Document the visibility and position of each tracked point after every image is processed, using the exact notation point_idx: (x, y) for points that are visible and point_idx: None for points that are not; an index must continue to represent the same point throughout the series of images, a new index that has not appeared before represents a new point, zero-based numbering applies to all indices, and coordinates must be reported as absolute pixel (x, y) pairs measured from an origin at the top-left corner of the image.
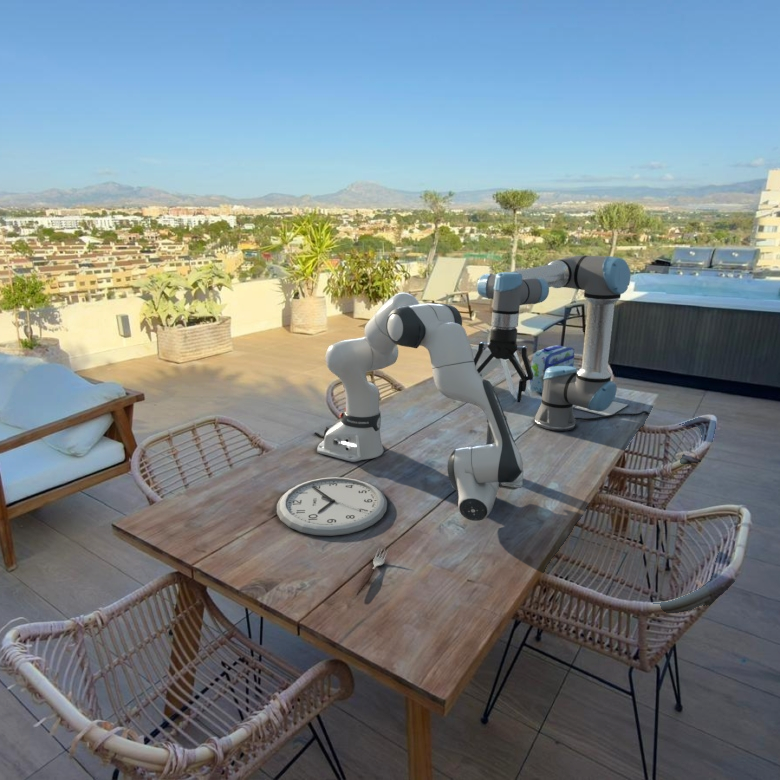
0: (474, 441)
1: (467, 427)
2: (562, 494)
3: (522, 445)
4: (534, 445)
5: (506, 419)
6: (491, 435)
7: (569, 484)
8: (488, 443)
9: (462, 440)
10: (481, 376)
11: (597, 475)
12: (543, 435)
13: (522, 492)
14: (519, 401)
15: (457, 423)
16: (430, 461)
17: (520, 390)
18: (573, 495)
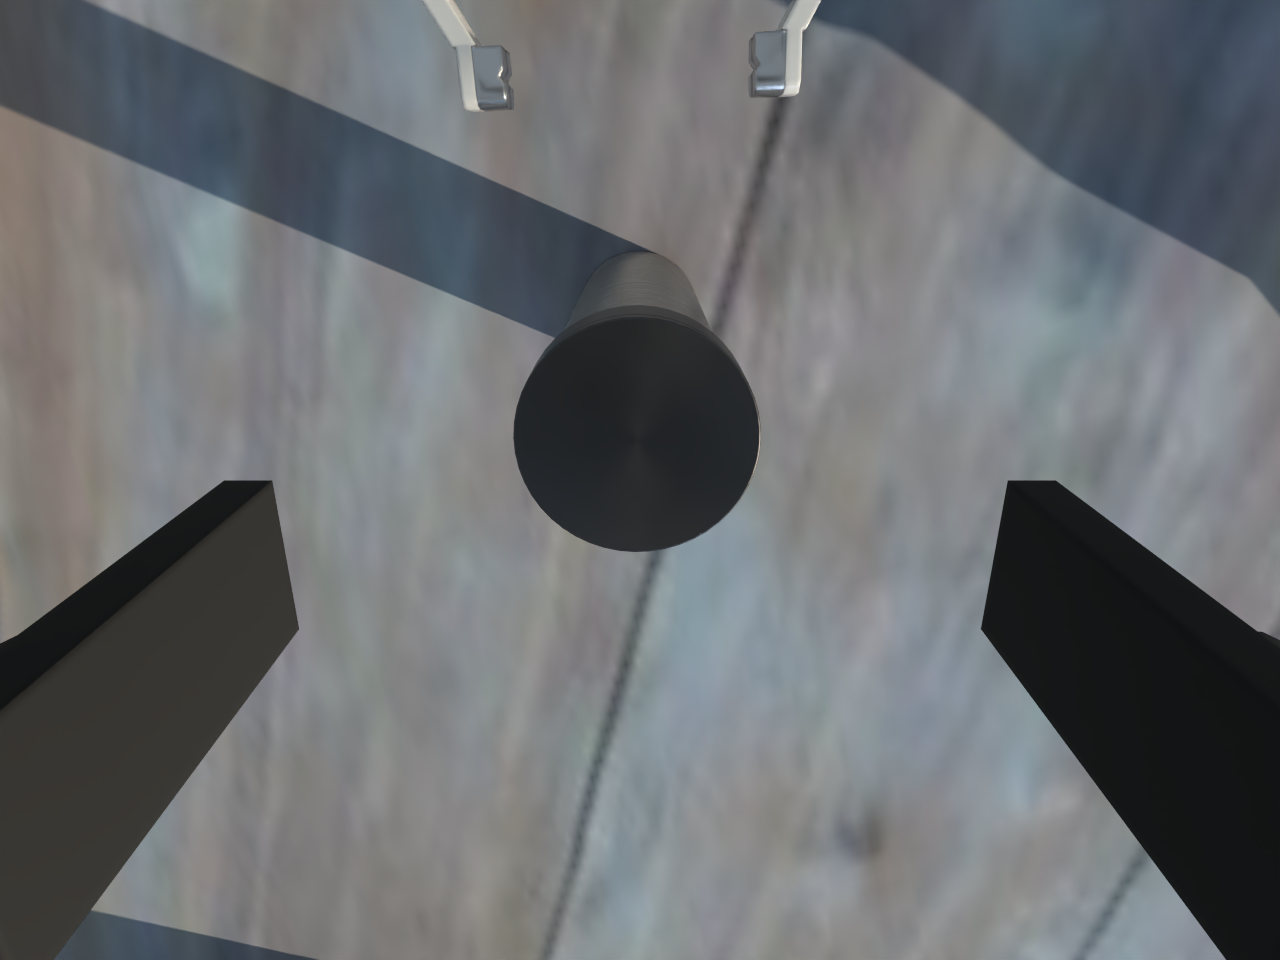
0: (830, 709)
1: (902, 881)
2: (116, 134)
3: (530, 756)
4: (461, 780)
5: (517, 442)
6: (667, 298)
7: (120, 313)
8: (689, 299)
9: (909, 696)
10: (1227, 933)
11: (8, 513)
12: (442, 921)
13: (371, 44)
14: (221, 490)
15: (971, 913)
16: (1094, 292)
17: (76, 604)
18: (47, 151)
